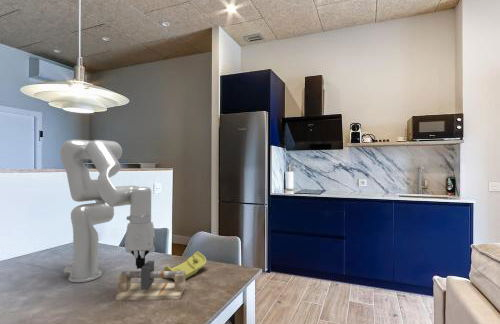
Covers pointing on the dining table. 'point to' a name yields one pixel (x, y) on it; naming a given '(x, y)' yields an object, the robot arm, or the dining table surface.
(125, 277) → the pipe stand
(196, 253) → the plastic component
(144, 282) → the collar
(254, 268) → the dining table surface
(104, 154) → the robot arm
